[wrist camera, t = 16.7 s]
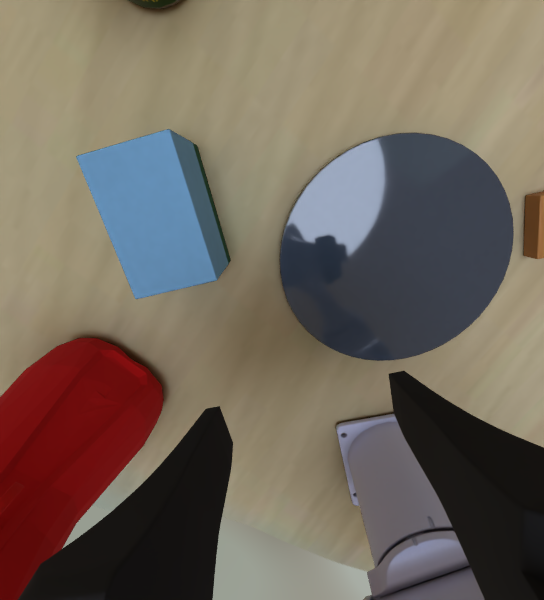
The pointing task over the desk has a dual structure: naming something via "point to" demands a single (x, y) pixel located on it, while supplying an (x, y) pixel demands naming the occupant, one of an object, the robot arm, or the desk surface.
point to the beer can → (155, 3)
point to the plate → (396, 246)
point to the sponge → (157, 212)
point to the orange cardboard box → (534, 225)
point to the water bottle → (65, 446)
